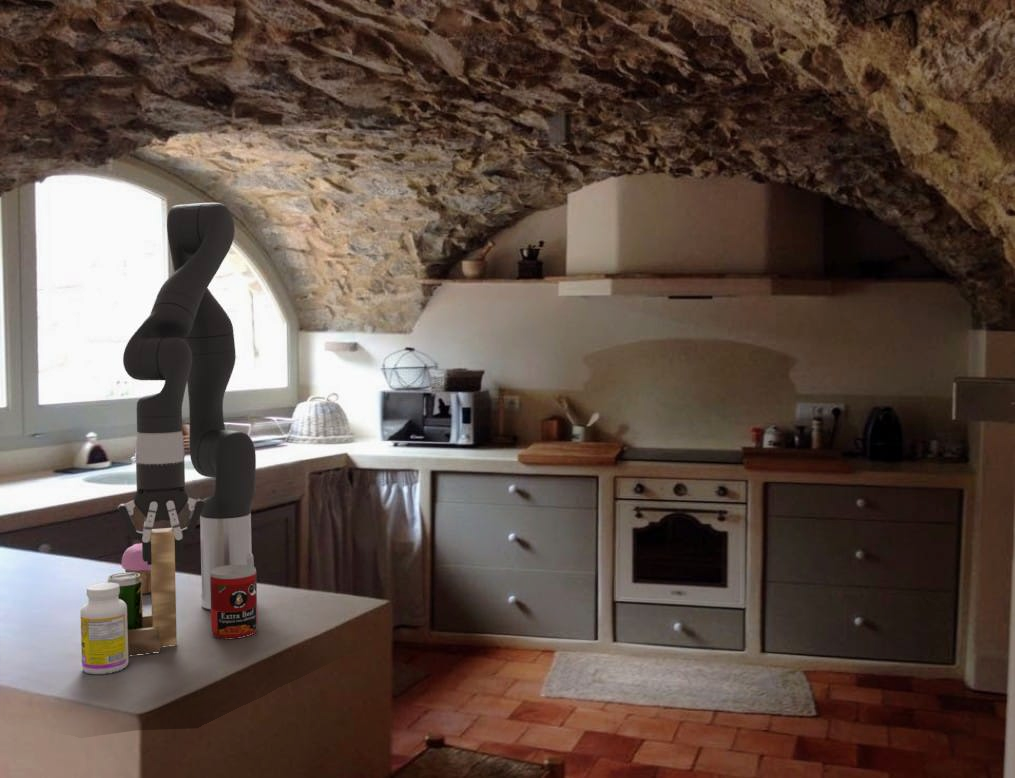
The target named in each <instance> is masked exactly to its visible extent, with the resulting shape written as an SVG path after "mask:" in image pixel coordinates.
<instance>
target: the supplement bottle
mask: <svg viewBox="0 0 1015 778" xmlns="http://www.w3.org/2000/svg"><path fill="white" fill-rule="evenodd" d="M119 593H120V586H119V584H117V583H107V582H102V583H101V582H100V583H95V584H91V585H88V586H87V587H86V597H87V598H88V601H87V602H85V603H84V605H83V606H82V607H81V608H80V642H81V646H80V647H81V667H82V670H83V671H84V673H87V674H89V675H106V674H105V673H109V674H112V673H111V672H114V673H116V672H115V671H117V672H120V671H122V670H124V669H125V668H126V667H127V666H128V665H129V657H128V628H127V605H126V603H125V602H124V601H123V600H121V599H119V597H118V595H119ZM123 668H124V669H123ZM119 670H120V671H119Z"/></svg>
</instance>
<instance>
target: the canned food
mask: <svg viewBox="0 0 1015 778" xmlns="http://www.w3.org/2000/svg"><path fill="white" fill-rule="evenodd" d="M257 582H258V580H257V569H256V566H254V567H253V566H250V565H226V566H221V567H217V568H214V569H212V570H211V574H210V590H211V609H210V619H211V621H210V624H211V627H210V629H211V630H210V631H211V633H212V635H213V637H215V638H217V637H218V638H217V639H221V638H223V639H222V640H230V639H229V638H238V637H243V636H247V635H250V634H252V633H254V632H255V631H257V628H258V602H257V601H258V595H257V593H258V591H257V590H258V589H257V586H258V583H257ZM255 633H256V632H255ZM255 633H254V634H255ZM252 635H253V634H252ZM250 636H251V635H250ZM247 637H248V636H247ZM226 638H227V639H226ZM238 639H239V638H238Z"/></svg>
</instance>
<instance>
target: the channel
mask: <svg viewBox="0 0 1015 778" xmlns="http://www.w3.org/2000/svg"><path fill="white" fill-rule="evenodd" d="M153 652H160V653H161V649H160V639H159V627H152V613H149V614H143V628H141V629H131V630H128V656H130V655H137V654H146V653H153ZM130 657H131V656H130Z"/></svg>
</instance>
